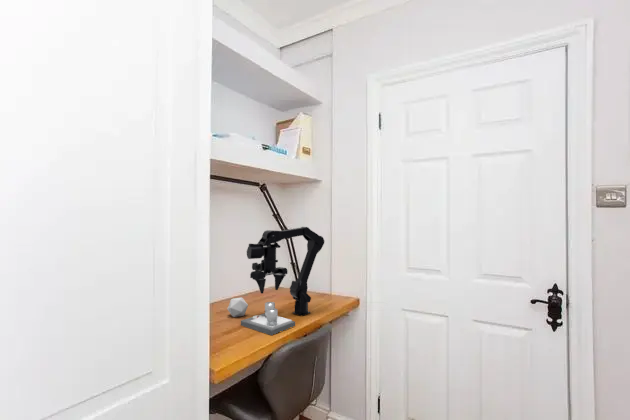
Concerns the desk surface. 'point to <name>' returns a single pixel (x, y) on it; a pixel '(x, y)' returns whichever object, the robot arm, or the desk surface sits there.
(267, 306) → the spacer
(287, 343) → the desk surface
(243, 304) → the die
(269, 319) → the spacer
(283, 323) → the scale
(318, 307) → the desk surface
